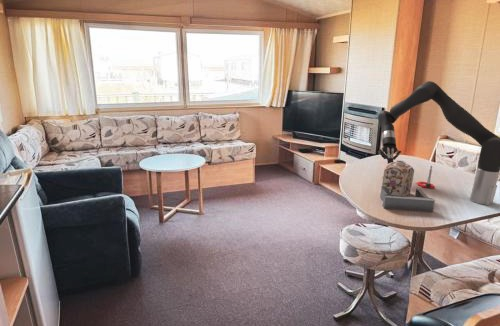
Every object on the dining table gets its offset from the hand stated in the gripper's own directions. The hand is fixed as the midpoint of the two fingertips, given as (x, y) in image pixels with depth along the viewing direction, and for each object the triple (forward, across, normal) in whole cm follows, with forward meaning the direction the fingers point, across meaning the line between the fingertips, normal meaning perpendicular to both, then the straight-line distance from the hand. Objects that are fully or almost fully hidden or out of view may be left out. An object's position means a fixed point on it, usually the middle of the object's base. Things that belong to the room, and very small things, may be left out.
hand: (390, 165), depth 190 cm
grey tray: (+29, -1, +13) cm, 32 cm away
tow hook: (+7, -21, -9) cm, 24 cm away
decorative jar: (+19, -1, +2) cm, 19 cm away
